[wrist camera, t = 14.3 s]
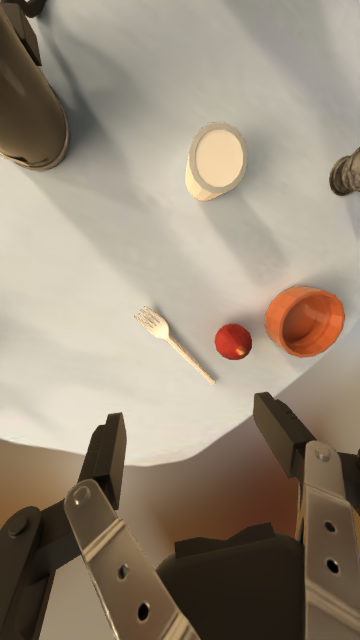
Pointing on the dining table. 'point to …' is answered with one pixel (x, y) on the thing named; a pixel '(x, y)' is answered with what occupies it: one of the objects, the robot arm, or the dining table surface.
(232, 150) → the cream cylinder
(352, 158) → the pawn-shaped pepper mill
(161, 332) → the fork
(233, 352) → the onion
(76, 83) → the dining table surface
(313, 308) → the bowl
